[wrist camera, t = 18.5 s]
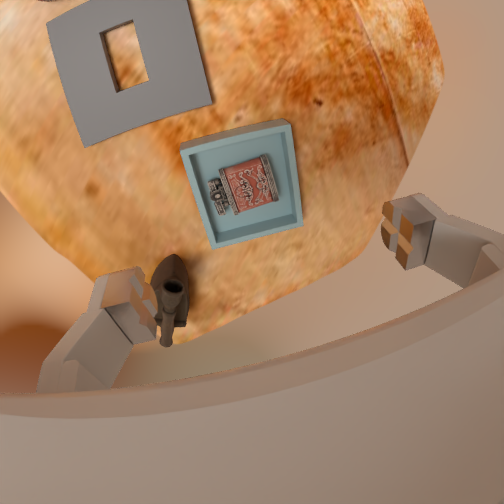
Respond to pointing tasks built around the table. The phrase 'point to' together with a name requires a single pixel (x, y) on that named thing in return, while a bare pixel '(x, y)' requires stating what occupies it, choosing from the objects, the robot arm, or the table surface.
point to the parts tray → (235, 152)
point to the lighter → (244, 186)
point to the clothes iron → (170, 296)
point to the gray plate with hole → (101, 72)
